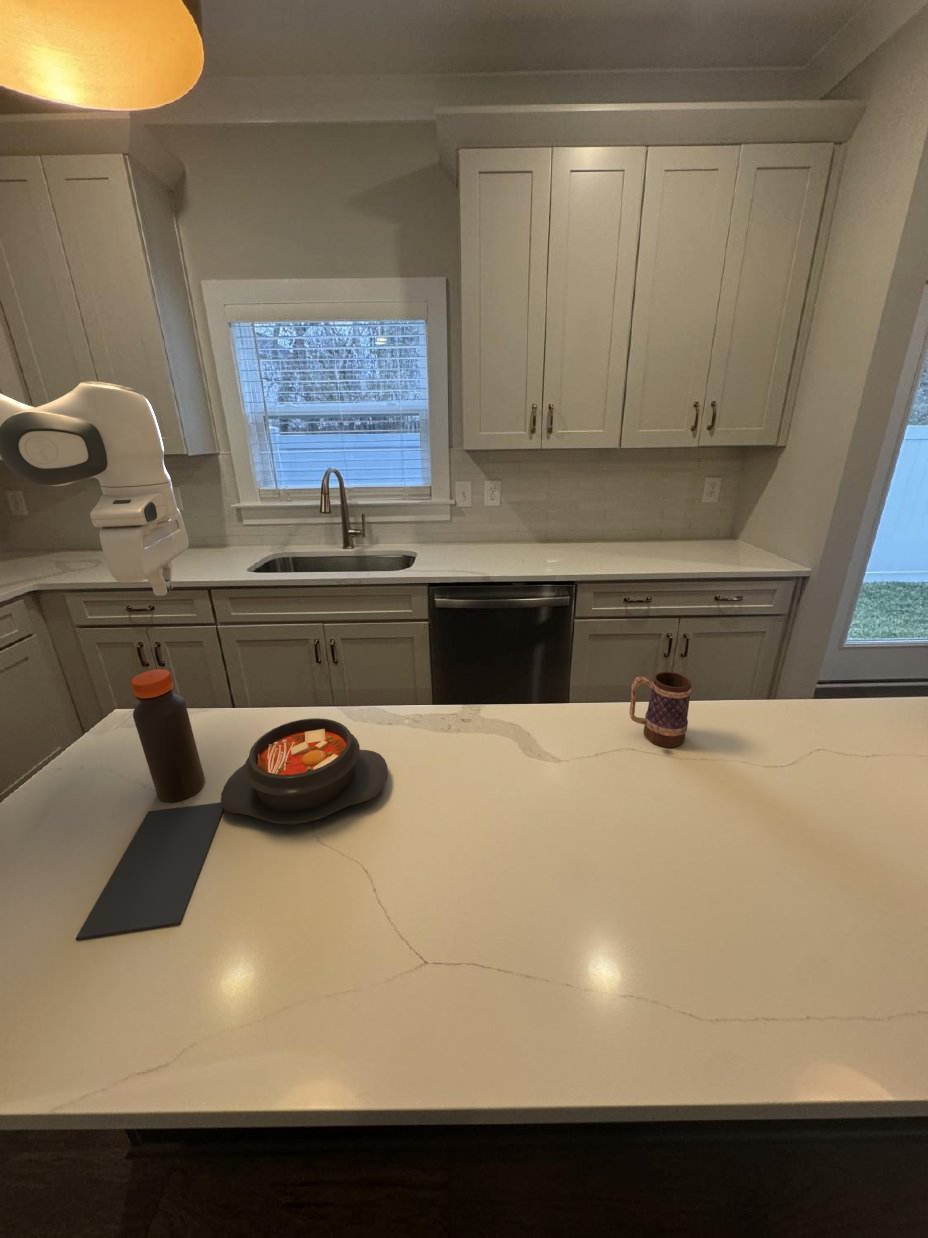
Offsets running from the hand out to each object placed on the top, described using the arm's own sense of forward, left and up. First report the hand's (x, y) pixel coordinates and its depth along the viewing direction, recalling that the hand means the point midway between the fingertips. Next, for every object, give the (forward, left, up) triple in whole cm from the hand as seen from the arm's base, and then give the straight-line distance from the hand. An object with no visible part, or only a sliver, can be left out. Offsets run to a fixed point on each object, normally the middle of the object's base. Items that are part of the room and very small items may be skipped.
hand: (164, 592), depth 80 cm
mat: (+3, -26, -29) cm, 39 cm away
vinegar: (0, -11, -29) cm, 31 cm away
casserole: (+20, -15, -29) cm, 39 cm away
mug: (+80, -12, -29) cm, 86 cm away
